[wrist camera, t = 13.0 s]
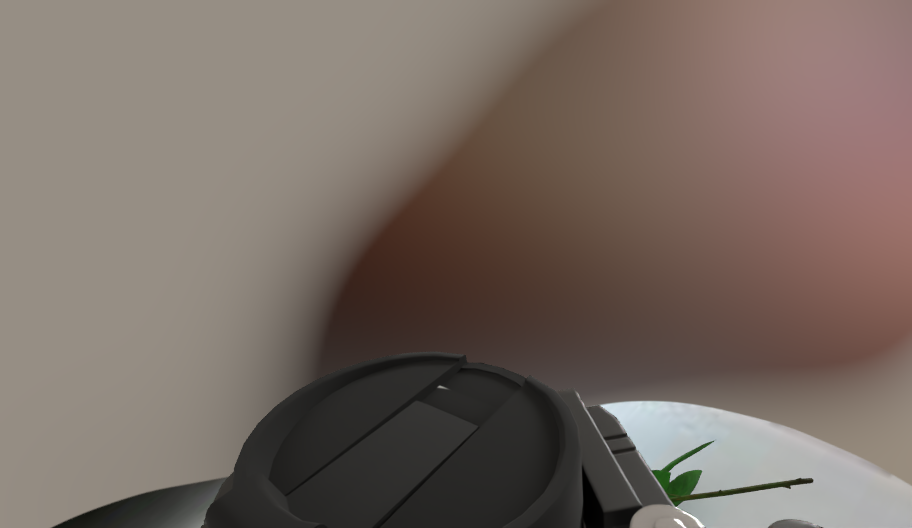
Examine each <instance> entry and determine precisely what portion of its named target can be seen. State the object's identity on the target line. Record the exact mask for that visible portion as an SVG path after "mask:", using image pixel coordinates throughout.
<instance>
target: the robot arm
mask: <svg viewBox="0 0 912 528" xmlns="http://www.w3.org/2000/svg"><path fill="white" fill-rule="evenodd" d="M556 392H557V393H558V394H559V395H560V396H561V398H562V399H563V400H564V401H565V403H566V404H567V405H568V406H569V408H570V409H571V412H572V414H573V416H574V418H575V421H576V423H577V425H578V428H579V436H580V445H581V463H582V486H583V510H584V513H583V519H584V522H585V526H586V528H705V527H704V526H703V525H702V523H700V522H699V521H698V520H697V519H696V518H695V517H693V516H692V515H690V514H689V513H687V512H685V511H683V510H681V509H679V508H676V507H675V506H674V504H673V503H672V502H671V500H670V499H669V497H668V495H667V494H666V492H665V491H664V489H663V488H662V486H661V485H660V483H659V482H658V480H657V479H656V477H655V476H654V474H653V473H652V471H651V470H650V468H649V466H648V465H647V463H646V462H645V460H644V459H643V457H642V456H641V454H640V453H639V451H637V450H636V447H635V445H634V444H633V442H632V441H631V439H630V438H629V437H628V436H627V433H626V431H625V430H624V428H623V427H622V425H621V424H620V422H619V421H618V419H617V418H616V417H615V416H614V415H612V414H611V413H609V412H608V411H607V410H605V409H604V408H603V407H601V406H600V405H598V406H592V407H585V405H584V403H583V402H582V400H581V398H580V397H579V395H578V393H577V391H576V390H575V389H574V388H572V389H566V390H560V391H556ZM233 475H234V472H233V473H232V474H231V475H230V476H229V477H228V478H227V479H226V480H225V482H224V483H223V484H222V486H221V488H220V490H219V492H218V494H217V496H216V498H215V500H214V502H215V501H216V500H218V499H219V498H220V497H222V496H223V495H224V494H226V493H227V492H229V491H230V490H231V489H232V485H233ZM201 528H209V527H208V525H207V522H206V518H205V520H204V525H202V526H201ZM768 528H822V527H820V526H818V525H815V524H812V523H809V522H805V521H801V520H793V519H789V520H781V521H777V522H775V523H773V524H772V525H770V526H769V527H768Z"/></svg>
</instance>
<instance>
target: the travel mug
mask: <svg viewBox="0 0 912 528" xmlns="http://www.w3.org/2000/svg"><path fill="white" fill-rule="evenodd" d="M583 513H584V510H583V486H582V463H581V445H580V436H579V428H578V425H577V423H576V421H575V418H574V416H573V414H572V412H571V409H570V408H569V406H568V405H567V404H566V403H565V401H564V400H563V399H562V398H561V396H560V395H559V394H558V393H557V392H556V391H555V390H553V389H551V388H550V387H548V386H546V385H545V384H543V383H542V382H540V381H538V380H537V379H535V378H534V377H532V376H529V377H527V378H524V377H523V376H521V375H519V374H516V373H514V372H511V371H509V370H506V369H504V368H500V367H496V366H492V365H488V364H484V363H467V360H466V355H462V354H453V353H442V352H418V353H407V354H400V355H392V356H386V357H382V358H377V359H374V360H369V361H364V362H361V363H358V364H355V365H352V366H349V367H346V368H343V369H340V370H338V371H335V372H333V373H331V374H328V375H326V376H324V377H322V378H319V379H317V380H315V381H313V382H312V383H310V384H308V385H307V386H305V387H303V388H301V389H299V390H298V391H296V392H294V393H293V394H292V395H290V396H289V397H288V398H286V399H285V400H283V401H282V402H281V403H280V404H278V405H277V406H276V407H274V408H273V409H272V410H271V411H270V412H269V413H268V414H267V415H266V416H265V417H264V418H263V419H262V420H261V421H260V422H259V423H258V425H257V426H256V428H255V429H254V430H253V431H252V433H251V434H250V436H249V437H248V439H247V440H246V442H245V443H244V445H243V447H242V450H241V452H240V455H239V457H238V459H237V462H236V464H235V467H234V475H233V485H232V489H231V490H230V491H229V492H227V493H226V494H224V495H223V496H222V497H220V498H219V499H218V500H216V501H215V502H213V503H212V504H211V505H210V507H209V508H208V510H207V513H206V522H207V525H208V527H209V528H586V526H585V522H584V519H583Z"/></svg>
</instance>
